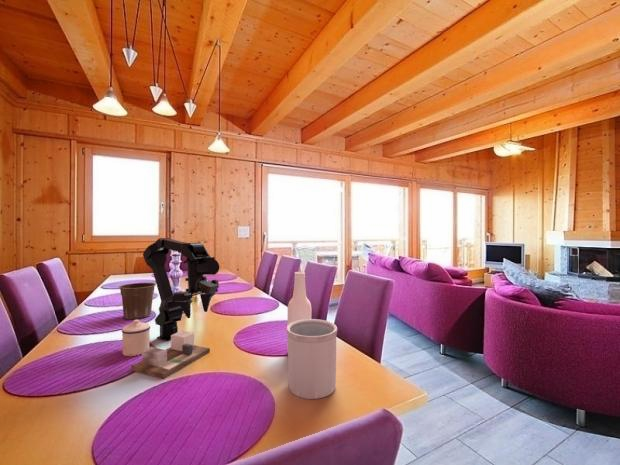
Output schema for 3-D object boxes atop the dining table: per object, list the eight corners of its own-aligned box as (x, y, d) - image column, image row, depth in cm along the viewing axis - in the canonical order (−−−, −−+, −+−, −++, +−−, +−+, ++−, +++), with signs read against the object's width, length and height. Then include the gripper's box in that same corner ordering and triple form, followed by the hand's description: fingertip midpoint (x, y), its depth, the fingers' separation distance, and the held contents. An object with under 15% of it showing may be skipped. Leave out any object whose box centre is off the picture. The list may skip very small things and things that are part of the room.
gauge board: (131, 370, 93) (131, 353, 93) (180, 346, 113) (180, 332, 112) (163, 378, 88) (164, 360, 88) (209, 352, 108) (209, 337, 107)
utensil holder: (296, 406, 75) (297, 339, 75) (279, 379, 89) (280, 322, 89) (346, 394, 81) (346, 331, 81) (322, 370, 95) (323, 316, 95)
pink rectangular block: (170, 348, 106) (170, 335, 106) (181, 343, 110) (181, 330, 110) (192, 353, 102) (192, 339, 102) (202, 347, 107) (202, 334, 107)
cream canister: (155, 349, 110) (155, 318, 110) (132, 358, 102) (132, 325, 101) (134, 343, 115) (134, 314, 115) (111, 352, 107) (111, 320, 106)
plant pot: (135, 311, 160) (135, 281, 159) (162, 312, 157) (162, 282, 157) (111, 320, 144) (111, 287, 143) (140, 322, 141) (140, 288, 141)
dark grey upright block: (182, 353, 102) (182, 345, 102) (185, 352, 103) (185, 343, 103) (189, 355, 101) (189, 346, 100) (192, 353, 102) (192, 345, 102)
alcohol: (299, 346, 113) (300, 270, 113) (316, 353, 107) (316, 272, 107) (282, 353, 107) (282, 272, 107) (298, 361, 101) (299, 275, 101)
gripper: (194, 277, 102) (196, 322, 102) (227, 271, 120) (229, 309, 119) (170, 278, 106) (172, 321, 106) (205, 271, 123) (207, 308, 123)
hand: (197, 314), depth 113 cm, fingers open, 9 cm apart
